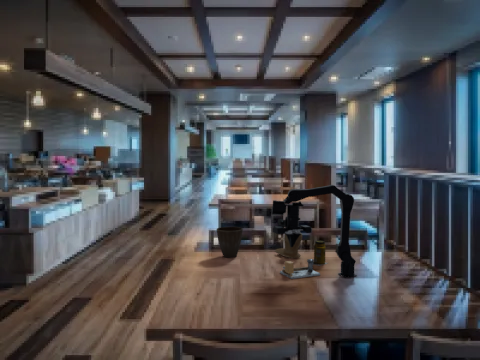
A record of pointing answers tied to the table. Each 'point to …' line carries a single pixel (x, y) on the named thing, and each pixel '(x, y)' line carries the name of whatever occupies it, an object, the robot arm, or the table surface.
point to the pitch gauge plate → (302, 271)
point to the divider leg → (289, 267)
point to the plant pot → (229, 240)
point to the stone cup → (290, 248)
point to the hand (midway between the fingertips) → (291, 247)
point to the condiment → (319, 253)
